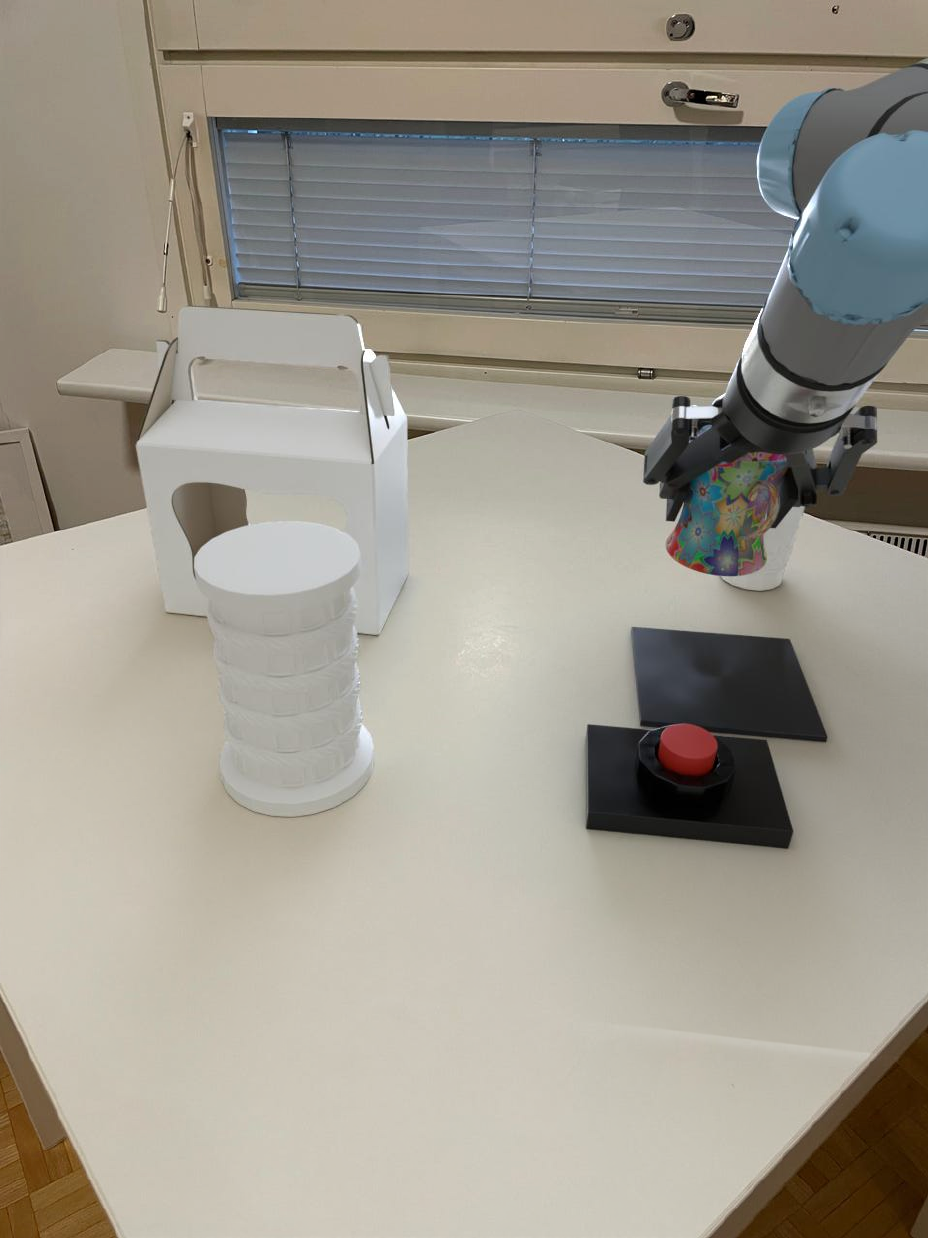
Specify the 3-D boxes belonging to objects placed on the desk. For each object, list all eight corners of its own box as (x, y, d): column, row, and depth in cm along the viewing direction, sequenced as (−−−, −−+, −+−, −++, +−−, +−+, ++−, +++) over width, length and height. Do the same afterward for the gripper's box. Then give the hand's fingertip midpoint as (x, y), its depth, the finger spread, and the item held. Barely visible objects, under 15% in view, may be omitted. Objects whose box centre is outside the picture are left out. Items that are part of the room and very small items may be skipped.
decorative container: (400, 741, 70) (396, 537, 60) (322, 837, 60) (304, 614, 51) (278, 703, 74) (257, 507, 64) (188, 788, 64) (148, 573, 55)
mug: (643, 539, 78) (662, 424, 73) (738, 535, 80) (763, 422, 74) (698, 605, 68) (725, 477, 63) (806, 599, 70) (841, 473, 64)
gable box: (411, 573, 94) (408, 302, 80) (381, 636, 83) (372, 335, 68) (216, 553, 97) (179, 289, 83) (162, 613, 86) (108, 319, 71)
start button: (709, 744, 65) (713, 726, 64) (717, 780, 62) (721, 761, 61) (655, 739, 66) (659, 721, 65) (660, 775, 62) (663, 756, 61)
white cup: (761, 601, 90) (781, 513, 85) (698, 574, 95) (713, 488, 90) (801, 579, 95) (822, 493, 90) (739, 553, 100) (755, 471, 95)
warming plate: (788, 643, 83) (790, 638, 83) (826, 742, 71) (828, 736, 70) (630, 631, 85) (631, 626, 84) (639, 726, 72) (640, 720, 72)
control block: (762, 756, 69) (771, 721, 67) (788, 849, 61) (799, 812, 59) (585, 740, 70) (589, 705, 68) (586, 829, 62) (590, 792, 60)
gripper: (627, 418, 53) (597, 542, 75) (982, 439, 51) (844, 560, 73) (633, 310, 55) (602, 462, 77) (976, 325, 53) (844, 477, 75)
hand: (720, 509), depth 75 cm, fingers closed on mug, 8 cm apart
